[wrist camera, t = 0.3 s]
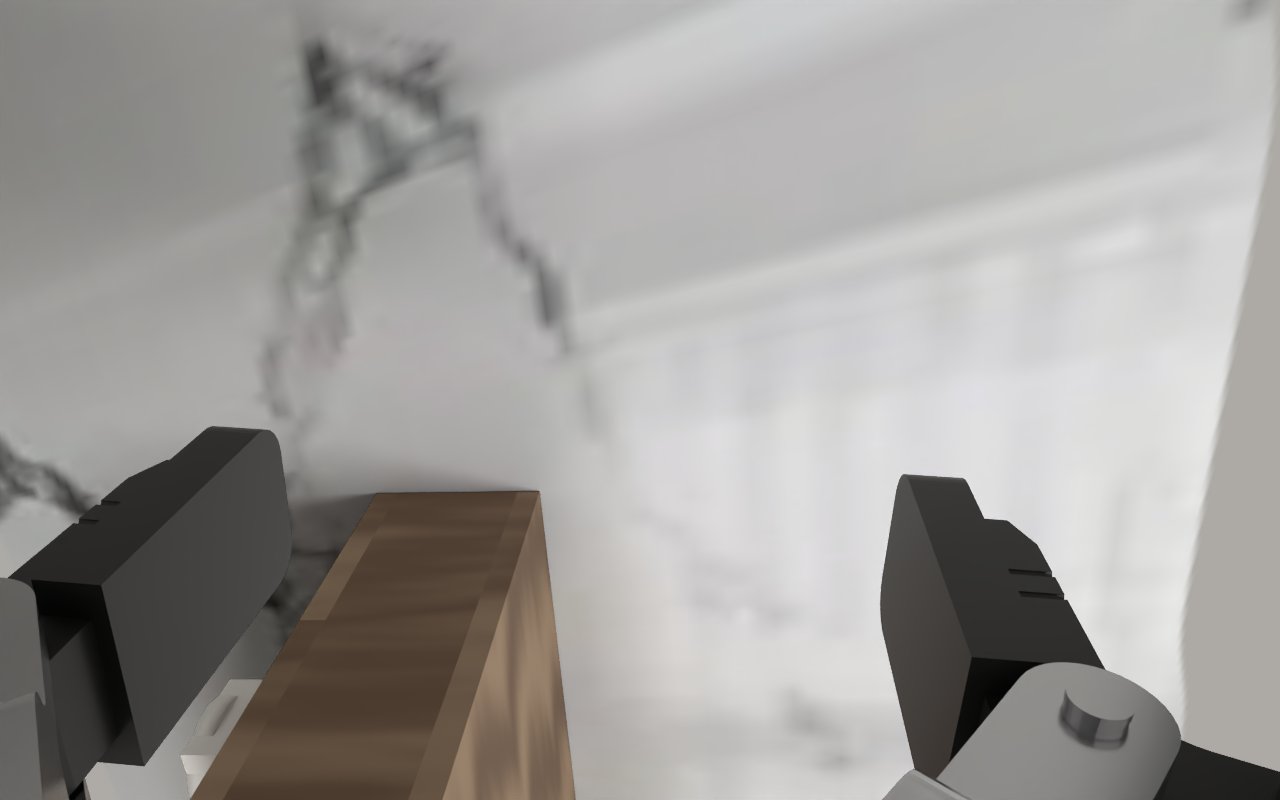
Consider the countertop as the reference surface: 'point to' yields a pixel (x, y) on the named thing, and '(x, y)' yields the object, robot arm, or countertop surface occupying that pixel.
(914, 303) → the countertop surface
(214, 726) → the pale grey button
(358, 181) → the countertop surface
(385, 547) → the button console
